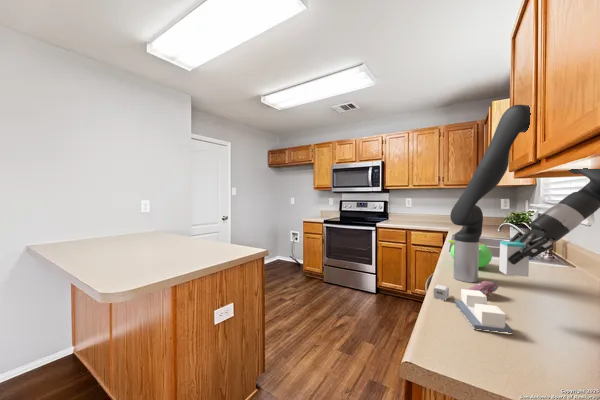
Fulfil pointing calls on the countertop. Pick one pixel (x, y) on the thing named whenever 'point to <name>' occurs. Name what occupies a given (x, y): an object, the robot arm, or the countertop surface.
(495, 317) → the board
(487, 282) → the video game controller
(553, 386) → the countertop surface
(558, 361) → the countertop surface
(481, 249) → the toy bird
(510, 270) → the teal and white module
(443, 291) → the usb wall charger
